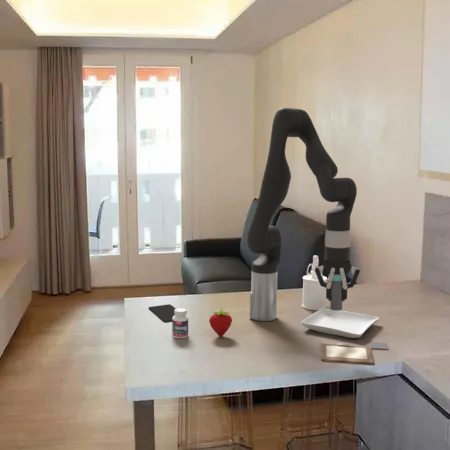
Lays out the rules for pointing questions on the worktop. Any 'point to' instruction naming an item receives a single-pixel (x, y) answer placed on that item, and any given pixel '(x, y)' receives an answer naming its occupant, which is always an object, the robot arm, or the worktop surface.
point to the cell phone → (163, 312)
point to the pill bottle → (180, 323)
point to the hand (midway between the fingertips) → (336, 300)
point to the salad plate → (339, 322)
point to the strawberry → (220, 322)
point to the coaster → (379, 345)
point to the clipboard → (346, 353)
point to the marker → (336, 292)
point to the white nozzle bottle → (313, 289)
